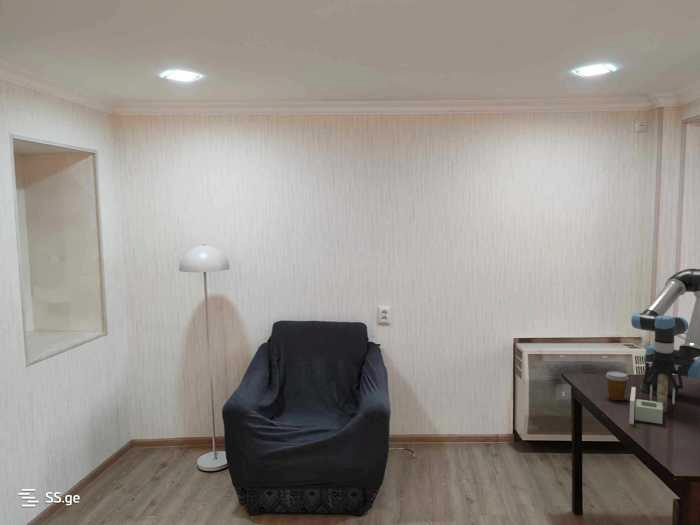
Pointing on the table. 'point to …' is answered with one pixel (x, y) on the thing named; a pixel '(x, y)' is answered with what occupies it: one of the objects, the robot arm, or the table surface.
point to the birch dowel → (662, 390)
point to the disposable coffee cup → (616, 384)
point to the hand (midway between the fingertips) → (661, 401)
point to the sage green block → (649, 411)
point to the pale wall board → (632, 405)
